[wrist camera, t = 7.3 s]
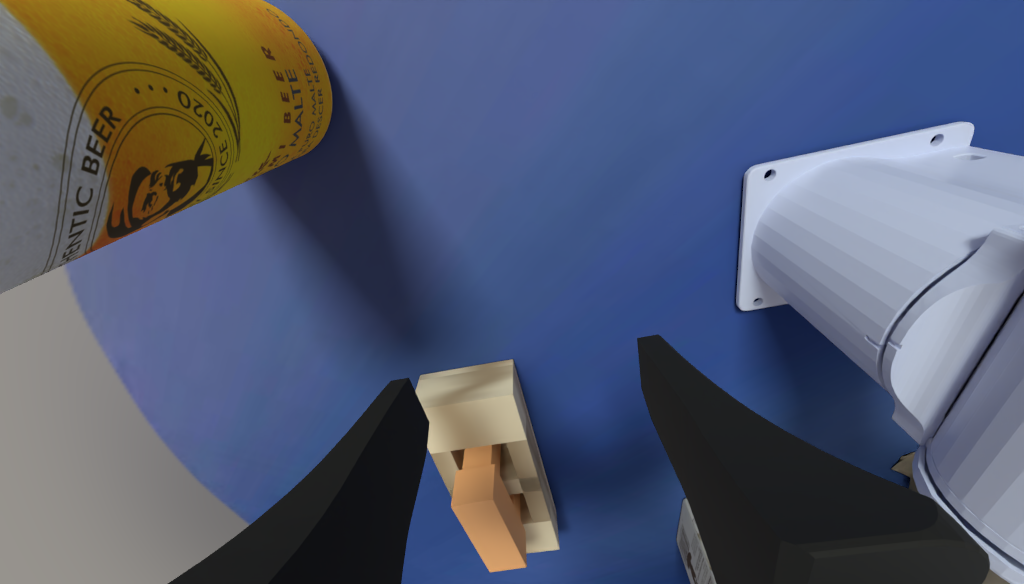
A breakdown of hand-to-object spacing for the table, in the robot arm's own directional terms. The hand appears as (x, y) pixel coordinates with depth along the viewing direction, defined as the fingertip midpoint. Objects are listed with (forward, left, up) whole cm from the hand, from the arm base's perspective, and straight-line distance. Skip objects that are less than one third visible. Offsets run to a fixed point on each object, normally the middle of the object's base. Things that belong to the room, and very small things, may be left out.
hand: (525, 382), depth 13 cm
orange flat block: (+5, +15, -9) cm, 18 cm away
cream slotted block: (+5, +15, -10) cm, 19 cm away
